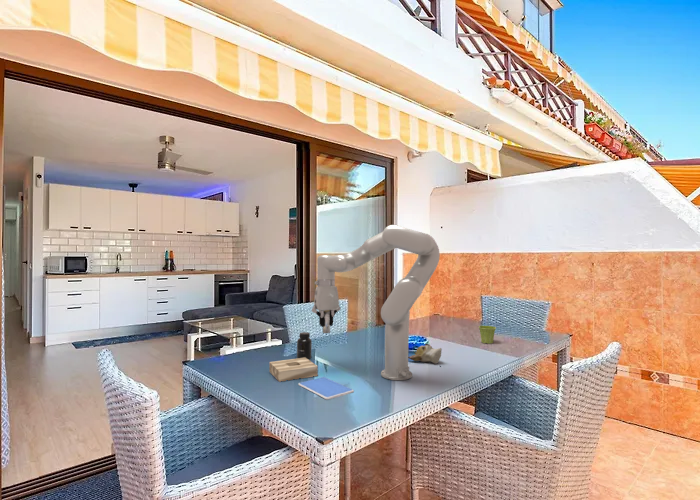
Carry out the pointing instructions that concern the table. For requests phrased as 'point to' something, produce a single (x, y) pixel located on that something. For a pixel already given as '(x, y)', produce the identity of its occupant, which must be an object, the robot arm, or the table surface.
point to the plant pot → (487, 334)
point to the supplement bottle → (304, 346)
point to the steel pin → (326, 321)
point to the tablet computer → (326, 388)
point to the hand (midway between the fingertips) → (326, 325)
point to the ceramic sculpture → (427, 354)
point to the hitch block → (293, 369)
